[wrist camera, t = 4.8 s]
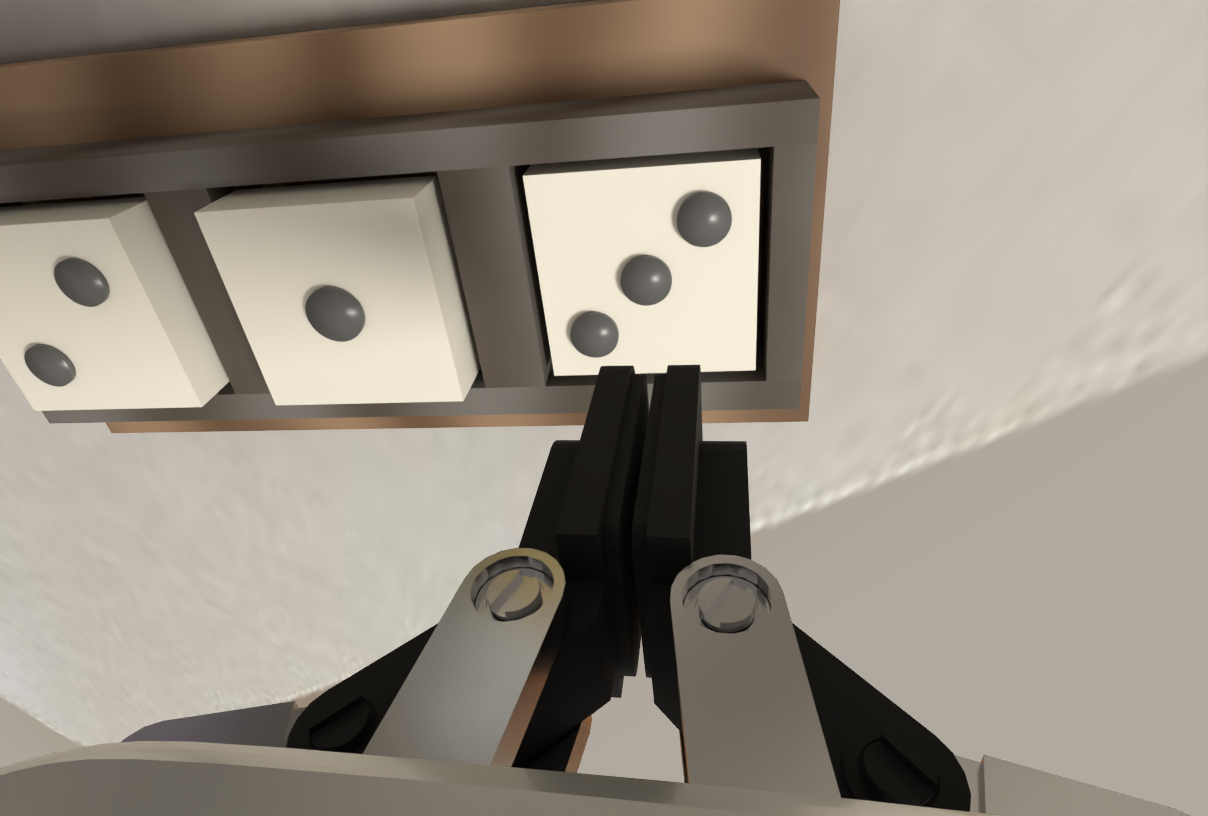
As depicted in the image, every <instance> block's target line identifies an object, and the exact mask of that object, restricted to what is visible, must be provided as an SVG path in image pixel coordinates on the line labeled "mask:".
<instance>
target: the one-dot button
mask: <svg viewBox="0 0 1208 816" xmlns="http://www.w3.org/2000/svg"><path fill="white" fill-rule="evenodd" d="M194 214H195V216H196V219H197V221H198V223H199V226H200V228H201V231H202V233H203V235H204V238H205V240H206V242H207V245H208V247H209V249H210V252H211V254H212V256H213V259H214V261H215V263H216V266H217V268H218V271H219V273H220V275H221V278H222V280H223V282H224V285H225V287H226V289H227V292H228V294H229V296H230V299H231V301H232V303H233V306H234V308H235V311H236V313H237V315H238V318H239V320H240V322H241V325H242V327H243V329H244V332H245V334H246V336H247V339H248V341H249V343H250V346H251V348H252V351H253V353H254V355H255V358H256V360H257V362H258V365H259V367H260V369H261V372H262V374H263V376H264V379H265V381H266V383H267V386H268V388H269V391H270V393H271V395H272V398H273V400H274V402H275V405H319V404H364V403H408V402H453V401H464V399H465V397H466V396H467V394H468V392H469V390H470V388H471V386H472V384H473V382H474V380H475V378H476V376H477V374H478V372H479V370H480V368H481V365H480V361H479V356H478V352H477V347H476V343H475V339H474V334H473V330H472V325H471V321H470V316H469V312H468V307H467V303H466V298H465V294H464V290H463V285H462V281H461V276H460V272H459V267H458V263H457V258H456V254H455V249H454V245H453V241H452V236H451V232H450V227H449V223H448V218H447V214H446V209H445V205H444V200H443V196H442V191H441V187H440V183H439V178H438V175H435V176H421V177H407V178H394V179H380V180H366V181H352V182H338V183H325V184H311V185H297V186H283V187H269V188H256V189H242V190H235V191H233V192H231V193H229V194H228V195H226V196H224V197H222V198H220V199H218V200H216V201H214V202H213V203H211V204H209V205H207V206H205V207H203V208H201V209H200V210H198V211H196V212H194Z"/></svg>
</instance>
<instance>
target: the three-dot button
mask: <svg viewBox="0 0 1208 816" xmlns="http://www.w3.org/2000/svg"><path fill="white" fill-rule="evenodd" d="M760 171H761V158H760V155H759V151H758V148H747V149H734V150H720V151H706V152H693V153H679V154H665V155H652V156H638V157H625V158H611V159H597V160H584V161H570V162H556V163H543V164H531V165H530V167H529V168H528V169H527V171H526V172H525V173H524V175H523V182H524V188H525V194H526V201H527V207H528V213H529V219H530V226H531V232H532V238H533V245H534V251H535V257H536V263H537V270H538V276H539V282H540V289H541V295H542V301H543V307H544V314H545V320H546V326H547V333H548V339H549V345H550V351H551V358H552V364H553V370H554V376H567V375H598V374H599V370H600V367H601V366H634V370H635V374H640V373H667V366H668V365H700V368H701V372H713V371H749V370H756V334H757V293H758V252H759V212H760Z"/></svg>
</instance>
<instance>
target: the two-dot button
mask: <svg viewBox="0 0 1208 816" xmlns="http://www.w3.org/2000/svg"><path fill="white" fill-rule="evenodd" d="M0 358H1V360H2V361H3V363H4V364H5V366H6V367H7V369H8V371H9V372H10V374H11V375H12V377H13V378H14V380H15V381H16V383H17V384H18V386H19V387H20V389H21V390H22V392H23V393H24V395H25V397H26V398H27V400H28V401H29V403H30V404H31V406H32V407H33V409H34V410H35V411H53V410H97V409H142V408H186V407H203V406H204V405H205V404H206V403H207V402H208V401H209V400H210V399H211V398H212V397H213V396H215V395H216V394H217V393H218V392H219V391H220V390H221V389H222V388H223V387H224V386H225V385H226V384H227V383H228V382H229V379H228V376H227V374H226V372H225V370H224V368H223V366H222V363H221V361H220V359H219V357H218V355H217V352H216V350H215V348H214V346H213V344H212V342H211V339H210V337H209V335H208V333H207V331H206V328H205V326H204V324H203V322H202V320H201V318H200V315H199V313H198V311H197V309H196V307H195V304H194V302H193V300H192V298H191V296H190V294H189V291H188V289H187V287H186V285H185V283H184V280H183V278H182V276H181V274H180V272H179V270H178V267H177V265H176V263H175V261H174V259H173V256H172V254H171V252H170V250H169V248H168V245H167V243H166V241H165V239H164V237H163V235H162V232H161V230H160V228H159V226H158V224H157V221H156V219H155V217H154V215H153V213H152V211H151V208H150V206H149V204H148V202H147V200H146V197H131V198H118V199H104V200H90V201H76V202H62V203H49V204H35V205H21V206H7V207H0Z"/></svg>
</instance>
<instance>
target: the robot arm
mask: <svg viewBox="0 0 1208 816" xmlns="http://www.w3.org/2000/svg"><path fill="white" fill-rule="evenodd" d="M750 541H751V540H750V516H749V491H748V467H747V445H746V442H745V441H703V440H702V402H701V368H700V365H668V366H667V373H666V374H655V377H654V383H653V390H652V397H651V403H650V410H649V400H648V388H647V377H646V374H635V370H634V366H601V367H600V370H599V374H598V377H597V381H596V384H595V388H594V392H593V395H592V399H591V403H590V406H589V410H588V414H587V417H586V421H585V424H584V428H583V432H582V435H581V439H580V440H556V441H555V442H554V443H553V445H552V447H551V450H550V453H549V456H548V459H547V462H546V465H545V468H544V471H543V474H542V478H541V481H540V484H539V487H538V490H537V493H536V496H535V499H534V502H533V505H532V508H531V511H530V514H529V517H528V521H527V524H526V527H525V530H524V533H523V536H522V539H521V542H520V545H519V548H514V549H509V550H504V551H500V552H498V553H496V554H493V555H491V556H489V557H487V558H485V559H484V560H482V561H481V562H480V563H478V564H477V565H476V566H474V567H473V569H472V570H471V571H470V572H469V574H468V575H467V576H466V577H465V579H464V580H463V582H462V584H461V585H460V587H459V589H458V591H457V592H456V594H455V596H454V598H453V599H452V601H451V603H450V604H449V606H448V608H447V610H446V611H445V613H444V615H443V616H442V618H441V620H440V622H439V623H438V624H436V625H435V626H433V627H431V628H430V629H428V630H426V631H425V632H423V633H421V634H420V635H418V636H416V637H415V638H413V639H412V640H410V641H408V642H407V643H405V644H403V645H402V646H400V647H398V648H397V649H395V650H393V651H392V652H390V653H388V654H387V655H385V656H383V657H382V658H380V659H378V660H377V661H375V662H373V663H372V664H370V665H369V666H367V667H365V668H364V669H362V670H360V671H359V672H357V673H355V674H354V675H352V676H350V677H349V678H347V679H345V680H344V681H342V682H340V683H339V684H337V685H335V686H334V687H332V688H330V689H329V690H327V691H326V692H324V693H323V694H322V695H320V696H319V697H318V698H317V699H315V700H314V701H313V702H311V703H310V704H309V705H308V707H305V708H299V707H298V705H297V704H296V702H295V701H292V702H285V703H279V704H272V705H266V706H259V707H252V708H246V709H239V710H233V711H226V712H219V713H213V714H206V715H200V716H193V717H186V718H180V719H173V720H166V721H162V722H158V723H155V724H152V725H149V726H146V727H143V728H142V729H140V730H138V731H137V732H135V733H133V734H132V735H130V736H128V737H127V738H125V739H124V740H123V741H122V742H121V743H108V744H100V745H93V746H87V747H81V748H75V749H69V750H64V751H59V752H53V753H50V754H46V755H43V756H39V757H36V758H32V759H29V760H26V761H22V762H19V763H15V764H12V765H9V766H5V767H2V768H0V816H1190V815H1188V814H1185V813H1183V812H1181V811H1178V810H1176V809H1174V808H1171V807H1167V806H1163V805H1160V804H1157V803H1153V802H1149V801H1145V800H1142V799H1139V798H1135V797H1132V796H1128V795H1125V794H1121V793H1118V792H1114V791H1110V790H1107V789H1103V788H1100V787H1096V786H1093V785H1089V784H1085V783H1082V782H1079V781H1075V780H1071V779H1068V778H1065V777H1061V776H1058V775H1054V774H1050V773H1047V772H1043V771H1040V770H1036V769H1033V768H1029V767H1026V766H1022V765H1019V764H1015V763H1011V762H1008V761H1004V760H1001V759H997V758H994V757H990V756H987V755H983V758H982V761H981V763H980V762H977V761H973V760H970V759H966V758H963V757H959V756H956V755H954V754H953V753H952V752H951V751H950V750H949V749H948V748H947V747H946V746H945V745H944V744H943V743H942V742H941V741H940V740H939V739H938V738H937V737H936V736H935V735H934V734H933V733H931V732H930V731H929V730H927V729H926V728H925V727H924V726H922V725H921V724H920V723H919V722H917V721H916V720H915V719H914V718H912V717H911V716H910V715H908V714H907V713H906V712H905V711H903V710H902V709H901V708H900V707H898V706H897V705H896V704H894V703H893V702H892V701H891V700H889V699H888V698H887V697H886V696H884V695H883V694H882V693H881V692H879V691H878V690H877V689H875V688H874V687H873V686H872V685H870V684H869V683H868V682H867V681H865V680H864V679H863V678H861V677H860V676H859V675H858V674H856V673H855V672H854V671H853V670H851V669H850V668H849V667H847V666H846V665H845V664H844V663H842V662H841V661H840V660H839V659H837V658H836V657H835V656H833V655H832V654H831V653H830V652H828V651H827V650H826V649H825V648H823V647H822V646H821V645H819V644H818V643H817V642H816V641H814V640H813V639H812V638H811V637H809V636H808V635H807V634H806V633H804V632H803V631H802V630H801V629H799V628H798V627H797V626H795V625H794V624H793V623H792V621H791V618H790V614H789V610H788V607H787V603H786V600H785V596H784V593H783V591H782V588H781V586H780V584H779V582H778V580H777V579H776V578H775V577H774V576H773V575H772V574H771V573H770V572H769V571H768V570H767V569H766V568H765V567H763V566H762V565H759V564H758V563H756V562H754V561H753V560H751V542H750ZM641 637H642V646H643V655H644V663H645V673H646V677H650V678H652V684H653V694H654V703H655V705H656V706H658V708H659V709H660V710H661V711H662V712H663V713H664V714H665V715H666V716H667V717H668V718H669V719H670V721H671V722H672V723H673V724H674V725H675V726H676V727H677V728H678V729H679V734H680V746H681V756H682V765H683V774H684V783H678V782H668V781H657V780H646V779H635V778H624V777H614V776H602V775H591V774H581V773H577V771H578V768H579V765H580V762H581V759H582V755H583V753H584V750H585V746H586V743H587V740H588V737H589V734H590V729H591V723H592V716H591V714H593V713H594V712H595V711H597V710H598V709H599V708H601V707H602V706H603V705H605V704H606V703H607V702H609V701H610V699H611V697H619V698H621V694H622V687H623V679H624V676H636V673H637V667H638V658H639V649H640V641H641Z"/></svg>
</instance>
